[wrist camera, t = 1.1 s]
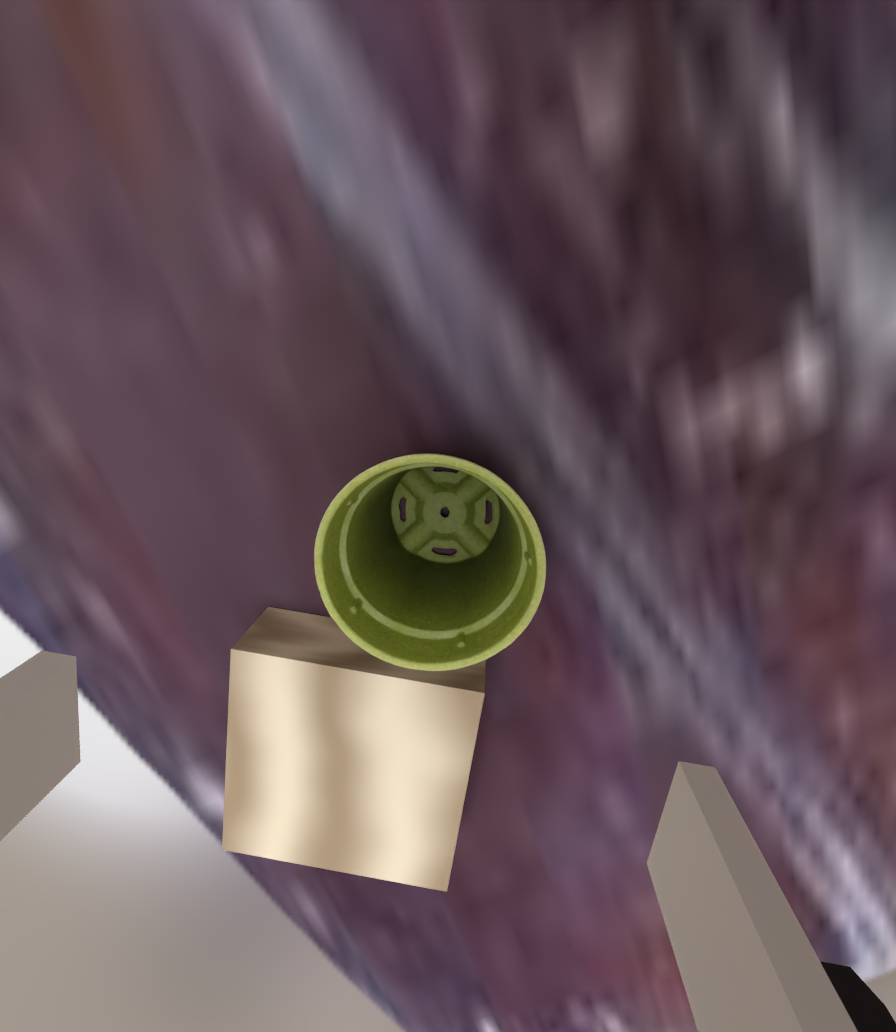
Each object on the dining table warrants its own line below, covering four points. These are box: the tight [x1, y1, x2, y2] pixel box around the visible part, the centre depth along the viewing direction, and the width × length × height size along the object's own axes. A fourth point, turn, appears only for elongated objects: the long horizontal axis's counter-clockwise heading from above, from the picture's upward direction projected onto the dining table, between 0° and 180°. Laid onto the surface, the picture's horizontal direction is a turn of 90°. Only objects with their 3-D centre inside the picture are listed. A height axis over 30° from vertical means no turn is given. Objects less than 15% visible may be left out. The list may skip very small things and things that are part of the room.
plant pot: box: [314, 453, 546, 671], centre depth 27 cm, size 9×9×9 cm
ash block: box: [222, 607, 486, 892], centre depth 33 cm, size 13×13×5 cm
